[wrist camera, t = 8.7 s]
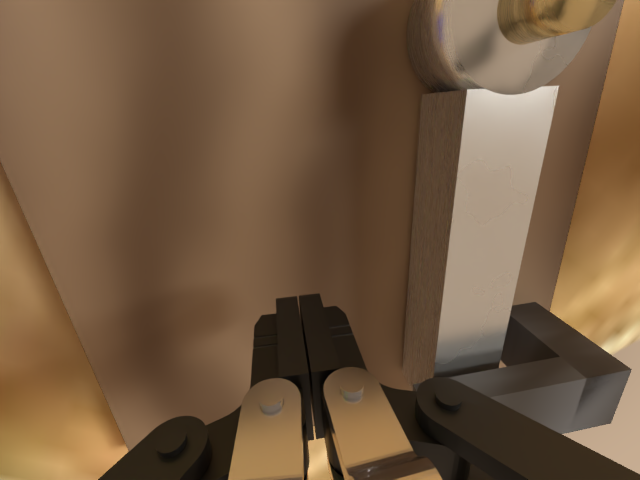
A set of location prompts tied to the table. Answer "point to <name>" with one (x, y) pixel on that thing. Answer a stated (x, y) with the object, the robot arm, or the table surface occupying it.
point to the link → (479, 166)
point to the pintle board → (262, 194)
